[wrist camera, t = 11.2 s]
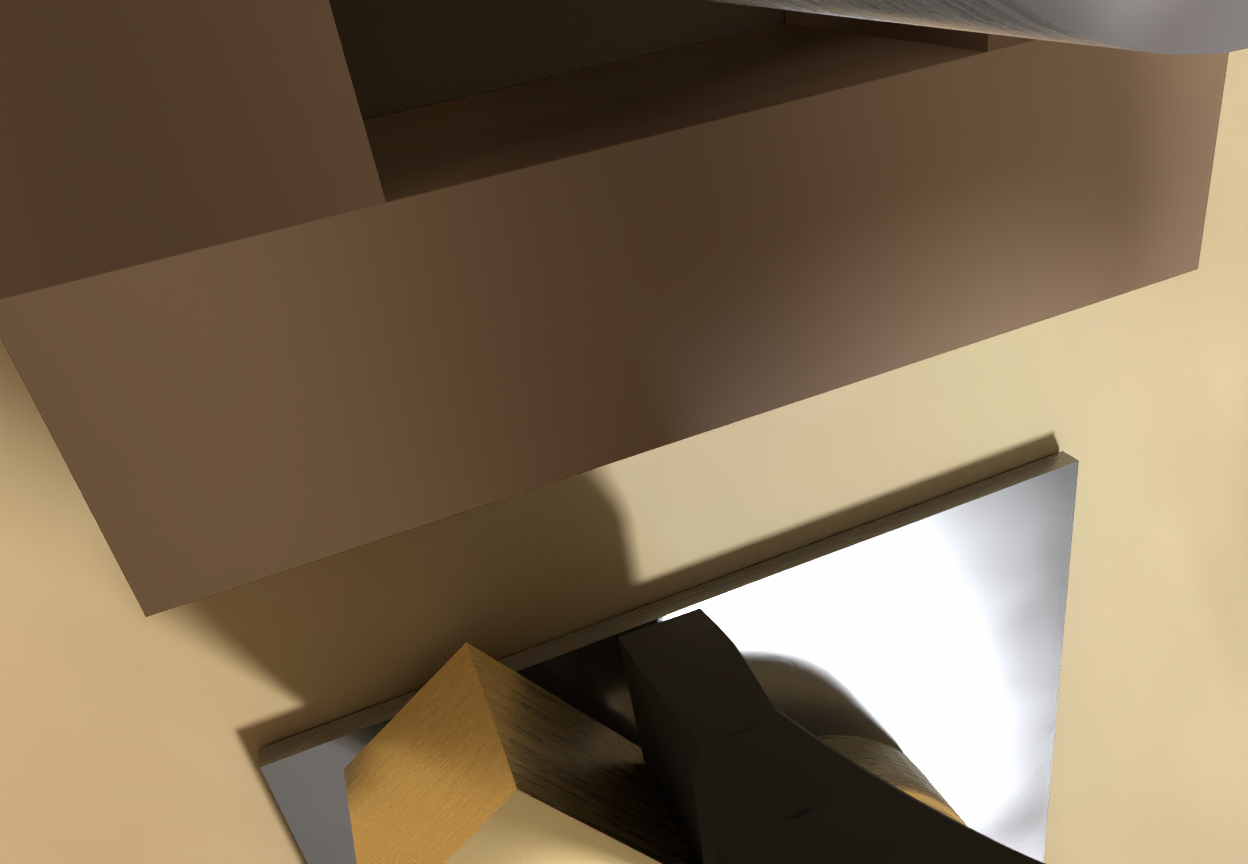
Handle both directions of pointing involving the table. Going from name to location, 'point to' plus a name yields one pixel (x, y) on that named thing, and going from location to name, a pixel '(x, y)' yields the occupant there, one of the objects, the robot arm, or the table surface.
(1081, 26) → the pin
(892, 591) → the plate
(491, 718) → the ring nut
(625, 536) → the table surface
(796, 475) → the table surface
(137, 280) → the socket block
